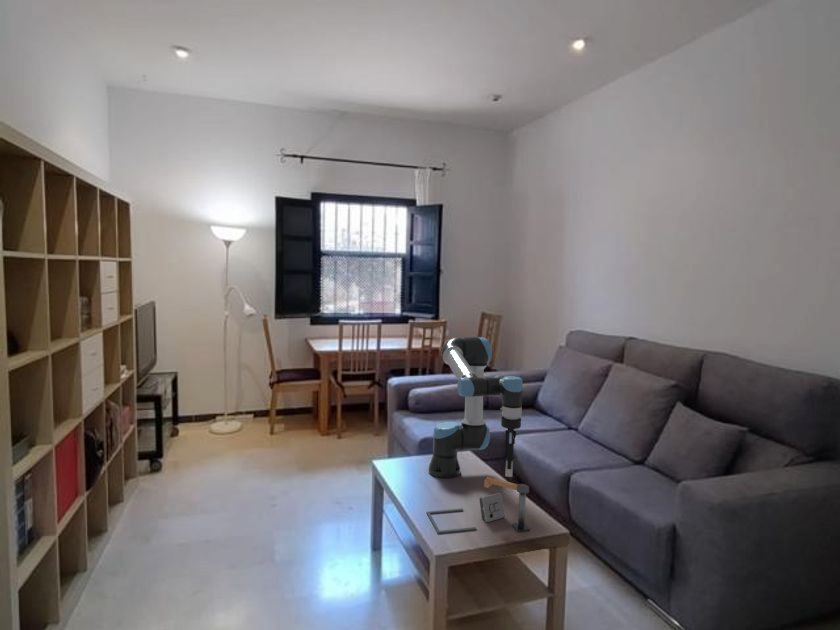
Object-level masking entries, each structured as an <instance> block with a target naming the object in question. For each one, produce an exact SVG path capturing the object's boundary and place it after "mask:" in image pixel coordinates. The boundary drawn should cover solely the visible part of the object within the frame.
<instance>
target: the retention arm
mask: <svg viewBox="0 0 840 630" xmlns="http://www.w3.org/2000/svg"><path fill="white" fill-rule="evenodd" d="M492 485H495V486H499V487H503V488H506V489H510V490H514V491H516V492H517V493H518V494H519V493H522V494H526V495H527V494H529V492H530V486H529V485H527V484H524V483H513V482H510V481H506V480H501V479H499V478H495V477H490V476H487V477H486V478H485V479H484V483H483V488H486V489H489V488H490V487H491V486H492Z"/></svg>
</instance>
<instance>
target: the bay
mask: <svg viewBox="0 0 840 630" xmlns="http://www.w3.org/2000/svg"><path fill="white" fill-rule="evenodd" d="M455 512H457V513H458V512H464V509H463V508H454V509H453V508H452V509H443V510H442V509H441V510H433V511H431V510H430V511H426V512H425V513H426V515H427V517H428V519H429V521H430V522H432V523H431V524H432V526H433V528H434V530H435V531H436V533H437V535H440V534H441V535H442V534H450V533H451V534H452V533H461V532H471V531H478V530H477V527H476V526H475V527H474V526H473V527H465V528H464V527H463V528H454V529H443V530H440V529H439V526H437V524H436V522H435V520H434V518H433V516H432V515H434V514H437V515H438V514H446V513H455Z"/></svg>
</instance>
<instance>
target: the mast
mask: <svg viewBox="0 0 840 630" xmlns="http://www.w3.org/2000/svg"><path fill="white" fill-rule="evenodd" d="M518 494H519V497H518V515H517V522H515V523H511V526H512V528H513V529H514V530H515V531H516V532H517V533H524V532H530V531H531V528H530V527H529V526H528V525H527V524H526V523H525V521H526V518H525V517H526V499H527V497H526V496H527V493H526V494H522V493H519V492H518Z"/></svg>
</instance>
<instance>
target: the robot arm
mask: <svg viewBox="0 0 840 630" xmlns="http://www.w3.org/2000/svg"><path fill="white" fill-rule="evenodd" d="M440 352H441V353H440V355H441V358H442V361H443V362H444V363H445V364H446V365H448V367H450V370H451V371H452V372H453V375H454V376H455V378H456V379H457V384H456V385H457V386H456V387H457V393H458V395H459V396H460V397H463V398H464V418H462V420H461V424H460V425H459V424H458V423H457V422H456V421H444V422H440V423H438V424H436V425H435V426H434V428H433V434H432V437H433V440H432V442H433V443H432V457H431V460H430V462H429V466H428V473H429V474H430V475H431V476H432V477H435V478H440V479H452V478H456V477H458V476H459V475H461V465H460V461H459V459H458V451H459V452H461V451H479V450H485V449H486V448H487V447H488V445H489V444H490V439H491V438H490V437H491V432H490V427H489V425H488V424H487V422H486V421H485V419H484V418H483V416H484V412H483V411H484V397H501V398H502V399H501V401H502V403H501V407H500V410H501V415H502V416H501V419H500V420H501V421H500V423H501V427H503V428H504V429H505V435H504V436H505V444H506V456H505V457H504V461H505V471H504V472H505V473H504V474H505V477H509V478H513V469H514V468H513V467H514V466H513V465H514V460H515V456H514V445H515V443H516V437H517V432H516V430H518V429H520V428H521V427H522V418H521V417H522V413H523V412H522V411H523V409H522V407H523V406H522V405H523V389H524V387H523V385H524V384H523V382H524V381H523V379H522V377H519V376H514V375H507V376H504V375H500V374H499V375H495V376H493V377H491V376H490V377H487V376H486V377H485V376H484V373H485V371H484V370H485V369H486V367H487V366H488V363H489V362H491V360H492V354H493V351H492V346H491V343H490V341H489V340H488V339H487V338H486V337H481V336H468V337H467V336H463V337H462V336H459V337H458V336H456V337H455V336H454V337H452V338H450V339H448V340H447V341H446V342H445V343H444V344H443V346H442V348H441V351H440Z"/></svg>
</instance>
